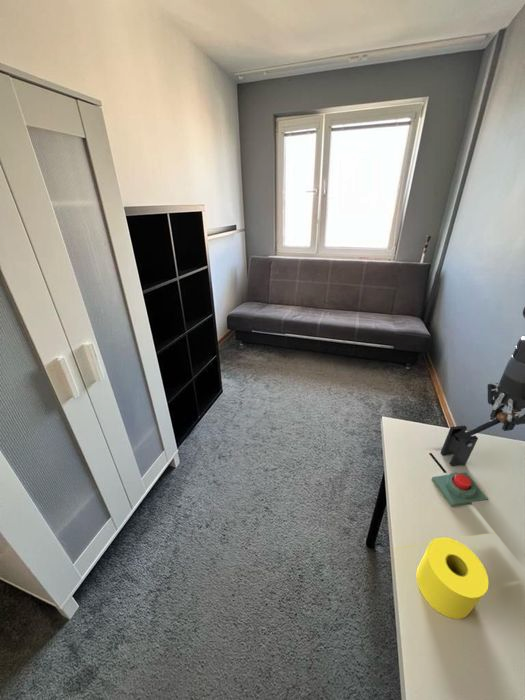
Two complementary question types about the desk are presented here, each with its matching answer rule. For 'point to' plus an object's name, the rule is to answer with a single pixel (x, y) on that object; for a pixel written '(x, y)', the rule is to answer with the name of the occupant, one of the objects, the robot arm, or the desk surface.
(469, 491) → the switch block
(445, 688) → the desk surface
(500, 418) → the lever
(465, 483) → the button
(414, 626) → the desk surface
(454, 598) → the tape roll
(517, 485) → the desk surface
